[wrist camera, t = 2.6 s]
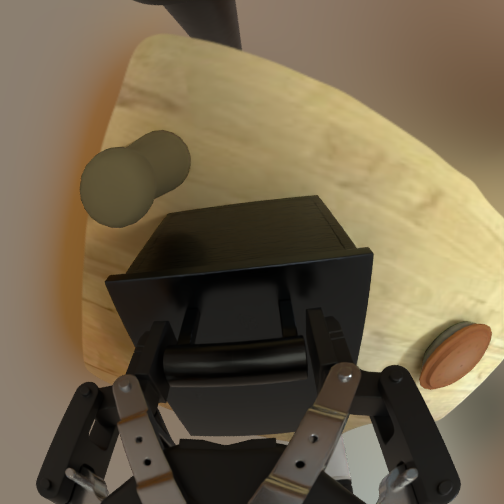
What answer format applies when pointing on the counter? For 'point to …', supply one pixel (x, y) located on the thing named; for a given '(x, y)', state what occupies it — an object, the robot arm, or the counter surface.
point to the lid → (245, 334)
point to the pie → (454, 354)
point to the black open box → (242, 234)
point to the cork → (133, 178)
